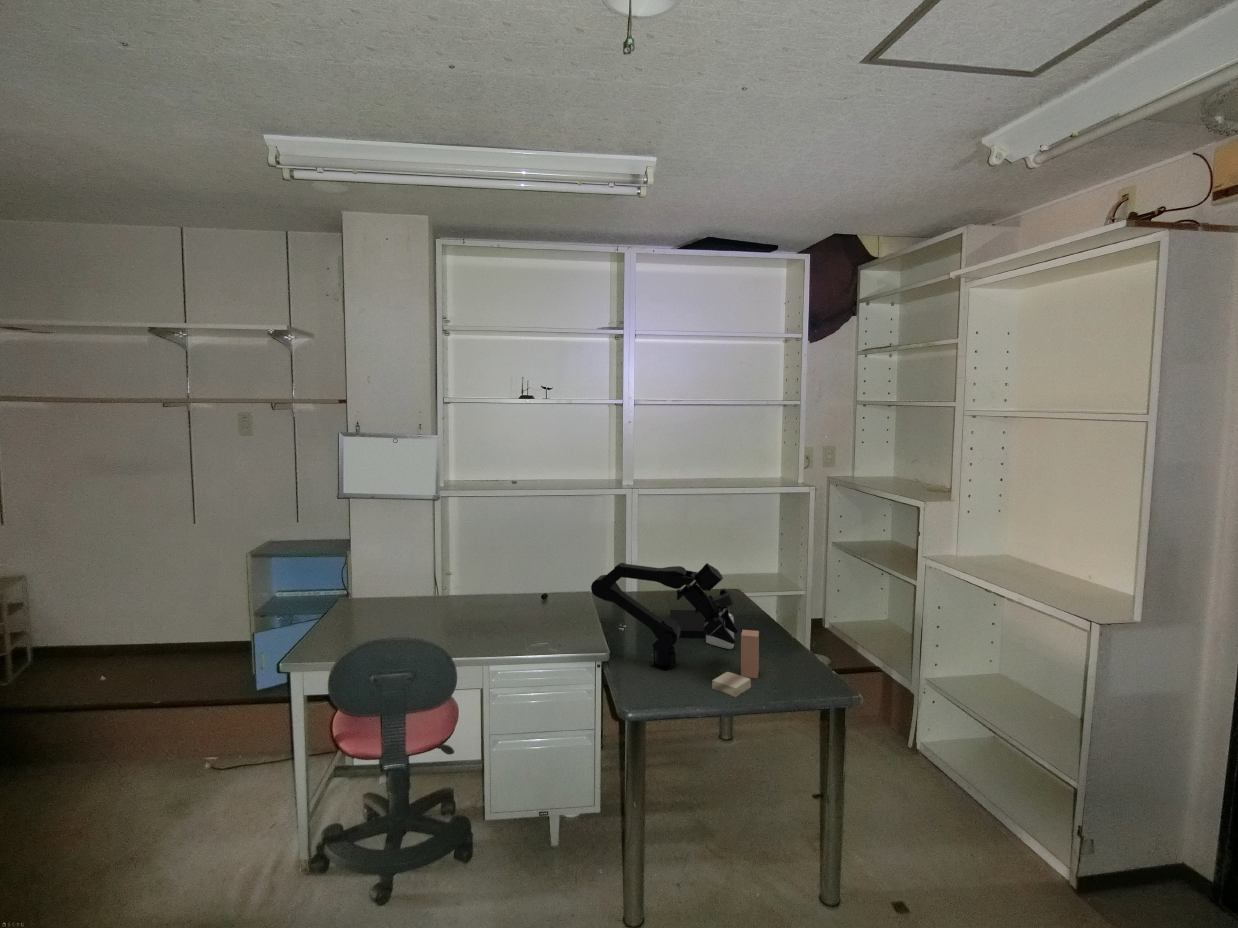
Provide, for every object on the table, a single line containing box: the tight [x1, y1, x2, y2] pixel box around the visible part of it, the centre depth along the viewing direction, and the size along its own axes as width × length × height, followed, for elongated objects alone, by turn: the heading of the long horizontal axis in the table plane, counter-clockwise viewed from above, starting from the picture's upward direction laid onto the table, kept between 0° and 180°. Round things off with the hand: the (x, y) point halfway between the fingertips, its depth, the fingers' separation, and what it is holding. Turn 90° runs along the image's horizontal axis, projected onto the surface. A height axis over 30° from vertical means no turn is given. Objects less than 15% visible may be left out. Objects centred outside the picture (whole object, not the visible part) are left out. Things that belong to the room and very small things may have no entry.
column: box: [740, 629, 760, 679], centre depth 194 cm, size 5×5×13 cm
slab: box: [711, 671, 752, 698], centre depth 185 cm, size 8×8×3 cm
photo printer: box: [705, 612, 735, 650], centre depth 217 cm, size 10×4×12 cm, turn 47°
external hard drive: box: [669, 609, 706, 639], centre depth 236 cm, size 14×23×3 cm, turn 175°
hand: (735, 637), depth 194 cm, fingers open, 9 cm apart
